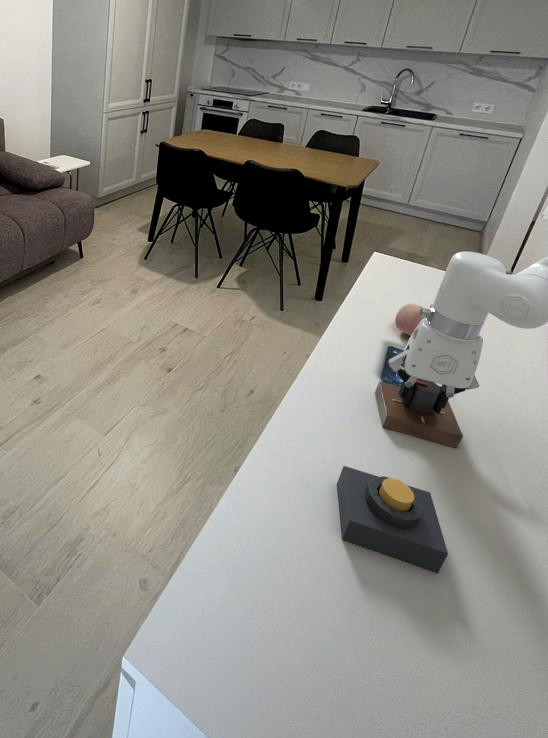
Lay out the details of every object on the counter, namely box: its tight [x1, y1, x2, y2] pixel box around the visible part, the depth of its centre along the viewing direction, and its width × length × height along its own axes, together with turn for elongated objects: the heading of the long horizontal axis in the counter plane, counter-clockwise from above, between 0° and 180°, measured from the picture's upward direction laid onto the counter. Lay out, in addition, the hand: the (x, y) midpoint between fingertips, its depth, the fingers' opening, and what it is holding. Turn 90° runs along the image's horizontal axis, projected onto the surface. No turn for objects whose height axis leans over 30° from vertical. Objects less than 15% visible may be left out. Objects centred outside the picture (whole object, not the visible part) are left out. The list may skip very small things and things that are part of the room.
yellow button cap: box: [379, 477, 414, 511], centre depth 70 cm, size 4×4×2 cm
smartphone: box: [379, 345, 405, 387], centre depth 107 cm, size 8×1×15 cm
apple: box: [394, 303, 426, 337], centre depth 118 cm, size 8×8×8 cm
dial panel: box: [374, 381, 463, 449], centre depth 93 cm, size 12×10×3 cm
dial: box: [407, 378, 441, 415], centre depth 91 cm, size 4×4×5 cm
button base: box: [336, 465, 449, 574], centre depth 72 cm, size 12×10×6 cm
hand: (419, 403), depth 92 cm, fingers closed on dial, 4 cm apart
